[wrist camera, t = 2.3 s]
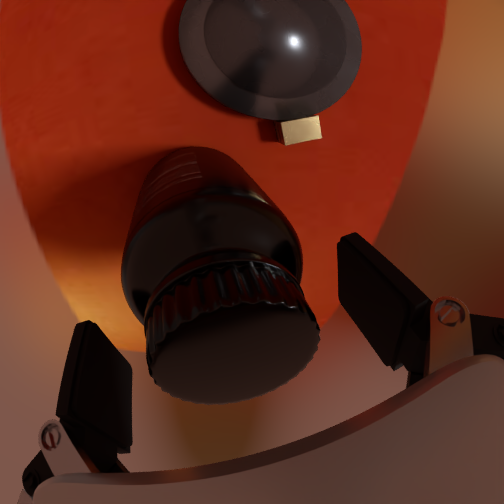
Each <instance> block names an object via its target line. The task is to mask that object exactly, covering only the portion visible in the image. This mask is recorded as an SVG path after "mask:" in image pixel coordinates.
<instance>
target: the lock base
mask: <svg viewBox="0 0 504 504" xmlns="http://www.w3.org/2000/svg"><path fill="white" fill-rule="evenodd" d="M179 45H180V51H181V55H182V57H183V60H184V63H185V65H186V67H187V69H188V71H189V73H190V74H191V76H192V77H193V78H194V80H195V81H196V83H197V84H198V85H199V86H200V87H201V88H202V89H203V90H204V91H205V92H206V93H207V94H209V95H210V96H211V97H212V98H214V99H215V100H216V101H218V102H220V103H221V104H223V105H224V106H226V107H229V108H231V109H233V110H235V111H237V112H240V113H243V114H246V115H250V116H254V117H258V118H263V119H271V120H276V121H274V123H275V128H276V133H277V138H278V142H279V143H281V144H283V145H290V144H294V143H299V142H303V141H308V140H313V139H318V138H322V137H321V130H320V123H319V116H316V115H314V114H316V113H319V112H321V111H323V110H325V109H326V108H328V107H330V106H331V105H333V104H334V103H335V102H337V101H338V100H339V99H340V98H341V97H342V96H343V95H344V94H345V93H346V91H347V90H348V89H349V88H350V86H351V84H352V83H353V81H354V79H355V77H356V75H357V72H358V69H359V65H360V61H361V53H362V45H361V36H360V31H359V28H358V24H357V21H356V19H355V17H354V15H353V13H352V11H351V9H350V7H349V6H348V4H347V3H346V2H345V0H187V1H186V3H185V5H184V8H183V10H182V13H181V17H180V23H179Z"/></svg>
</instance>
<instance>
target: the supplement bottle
mask: <svg viewBox="0 0 504 504" xmlns="http://www.w3.org/2000/svg"><path fill="white" fill-rule="evenodd" d="M302 272H303V254H302V248H301V244H300V241H299V238H298V236H297V233H296V231H295V230H294V228H293V226H292V225H291V223H290V222H289V220H288V219H287V218H286V216H285V215H284V214H283V213H282V211H281V210H280V209H279V208H278V207H277V206H276V205H275V203H274V202H273V201H272V200H271V199H270V198H269V197H268V196H267V194H266V193H265V192H264V191H263V190H262V189H261V188H260V187H259V186H258V184H257V183H256V182H255V181H254V180H253V179H252V178H251V177H250V176H249V175H248V174H247V172H246V171H245V170H244V169H243V168H242V167H241V166H240V165H239V164H238V163H237V162H236V161H235V160H233V159H232V158H231V157H229V156H228V155H226V154H224V153H223V152H220V151H218V150H215V149H212V148H207V147H188V148H183V149H180V150H177V151H175V152H172V153H170V154H168V155H167V156H165V157H164V158H162V159H161V160H160V161H159V162H158V163H157V164H156V165H155V166H154V167H153V168H152V169H151V170H150V172H149V173H148V175H147V177H146V179H145V180H144V183H143V185H142V188H141V191H140V194H139V197H138V200H137V203H136V207H135V210H134V213H133V217H132V221H131V224H130V228H129V232H128V235H127V239H126V243H125V247H124V252H123V257H122V264H121V283H122V288H123V292H124V295H125V298H126V301H127V303H128V305H129V307H130V309H131V310H132V312H133V314H134V315H135V316H136V318H137V319H138V320H139V321H140V323H141V324H142V325H143V326H144V331H145V337H146V359H147V364H148V369H149V374H150V376H151V377H152V378H153V379H154V382H155V384H156V385H158V386H160V387H161V389H162V391H164V392H167V393H169V394H170V395H171V396H172V397H176V398H180V399H181V400H183V401H190V402H193V403H197V404H207V405H210V404H227V403H236V402H240V401H244V400H249V399H252V398H255V397H258V396H262V395H264V394H266V393H268V392H271V391H273V390H275V389H277V388H278V387H280V386H282V385H284V384H286V383H287V382H288V381H289V380H291V379H292V378H294V377H296V376H297V375H298V374H299V372H300V371H302V370H303V369H304V368H305V367H306V366H307V364H308V363H309V362H310V361H311V360H312V359H313V355H314V353H315V352H316V351H317V350H318V346H317V345H318V343H319V341H320V336H319V333H320V328H319V325H318V323H317V321H316V317H315V315H314V313H313V312H312V310H311V308H310V307H309V305H308V303H307V302H306V300H305V297H304V293H303V291H302V289H301V287H300V283H301V278H302Z"/></svg>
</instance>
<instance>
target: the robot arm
mask: <svg viewBox="0 0 504 504" xmlns="http://www.w3.org/2000/svg"><path fill="white" fill-rule="evenodd" d="M337 259H338V297H339V301H340V303H341V305H342V306H343V307H344V309H345V310H346V311H347V313H348V314H349V316H350V317H351V318H352V320H353V321H354V322H355V324H356V325H357V326H358V328H359V329H360V331H361V332H362V333H363V335H364V336H365V338H366V339H367V340H368V342H369V343H370V345H371V346H372V347H373V349H374V350H375V352H376V353H377V354H378V356H379V357H380V359H381V360H382V362H383V363H384V364H385V365H386V366H391V368H392V369H393V371H395V370H397V369H398V368H400V367H402V366H403V365H404V366H405V368H406V369H407V371H408V378H407V384H406V389H405V390H403V391H401V392H400V393H398V394H396V395H394V396H393V397H391V398H389V399H387V400H386V401H384V402H382V403H380V404H378V405H376V406H374V407H372V408H370V409H369V410H367V411H365V412H363V413H361V414H359V415H357V416H354V417H353V418H350V419H349V420H346V421H344V422H342V423H340V424H338V425H335V426H333V427H330V428H328V429H326V430H324V431H321V432H318V433H316V434H314V435H311V436H308V437H305V438H303V439H300V440H297V441H294V442H292V443H289V444H286V445H283V446H280V447H276V448H273V449H270V450H267V451H263V452H260V453H256V454H253V455H249V456H245V457H241V458H237V459H232V460H228V461H223V462H218V463H214V464H208V465H202V466H196V467H190V468H182V469H174V470H164V471H153V472H134V473H130V472H129V471H128V470H127V469H126V467H125V466H124V465H123V464H122V463H121V462H120V460H119V459H118V458H117V453H119V454H123V453H130V446H131V445H132V442H133V441H132V368H131V365H130V364H129V363H128V361H127V360H126V359H125V358H124V357H123V356H122V354H121V353H120V352H119V351H118V350H117V349H116V347H115V346H114V345H113V344H112V343H111V341H110V340H109V339H108V338H107V337H106V335H105V334H104V333H103V332H102V330H101V329H100V328H99V326H98V325H97V324H96V323H93V322H92V321H90V320H87V321H84V322H81V323H78V324H76V326H75V329H74V333H73V336H72V340H71V343H70V347H69V351H68V355H67V359H66V363H65V367H64V372H63V376H62V381H61V386H60V392H59V396H58V402H57V408H56V416H58V417H59V418H60V421H57V420H53V419H52V420H48V421H47V422H46V423H44V425H43V426H42V427H41V429H40V432H39V445H40V448H41V450H40V452H39V453H38V454H37V455H36V457H35V458H34V459H33V460H32V461H31V462H30V464H29V465H28V466H27V468H25V470H24V472H23V476H22V481H23V486H24V489H25V490H24V489H22V492H21V494H20V497H19V500H18V503H17V504H504V319H503V318H496V317H489V316H481V315H474V314H469V311H468V309H467V307H466V306H465V304H464V303H463V302H461V301H460V300H459V299H457V298H454V297H449V296H444V297H440V298H438V299H436V300H435V301H434V302H432V301H431V300H430V299H429V298H428V297H427V296H426V295H425V294H424V293H423V292H422V291H421V290H420V289H419V288H418V287H417V286H416V285H415V284H414V283H413V282H412V281H411V280H410V279H408V278H407V277H406V276H405V275H404V274H403V273H402V272H401V271H400V270H399V269H397V267H396V266H394V265H393V264H392V263H391V262H390V261H389V260H388V259H387V258H386V257H384V256H383V255H382V254H381V253H380V252H379V251H378V250H376V249H375V248H374V247H373V246H372V245H371V244H369V243H368V242H367V241H366V240H365V239H364V238H362V237H361V236H360V235H359V234H358V233H356V232H354V233H351V234H348V235H345V236H343V237H341V239H340V242H338V243H337Z"/></svg>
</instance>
